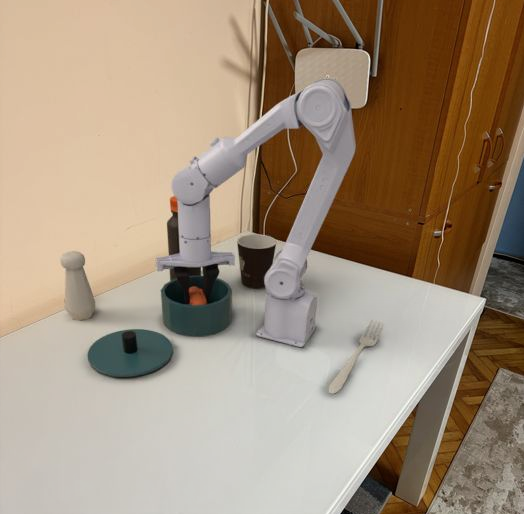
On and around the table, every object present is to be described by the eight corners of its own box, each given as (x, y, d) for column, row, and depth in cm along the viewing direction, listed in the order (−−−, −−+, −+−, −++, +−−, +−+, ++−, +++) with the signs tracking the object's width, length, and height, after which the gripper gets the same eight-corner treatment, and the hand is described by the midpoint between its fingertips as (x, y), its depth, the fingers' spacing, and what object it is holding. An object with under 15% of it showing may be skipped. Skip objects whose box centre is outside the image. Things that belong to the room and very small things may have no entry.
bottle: (185, 278, 117) (181, 191, 106) (207, 287, 114) (206, 198, 103) (164, 288, 112) (157, 198, 102) (186, 297, 109) (182, 205, 98)
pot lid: (188, 348, 92) (188, 328, 90) (135, 390, 81) (132, 368, 79) (127, 326, 98) (125, 306, 95) (70, 362, 87) (65, 341, 85)
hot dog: (208, 316, 97) (208, 303, 95) (192, 318, 96) (192, 304, 94) (200, 296, 104) (200, 283, 102) (185, 297, 103) (185, 284, 101)
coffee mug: (274, 291, 113) (276, 249, 108) (235, 290, 113) (235, 247, 108) (274, 270, 123) (276, 230, 118) (238, 268, 123) (238, 228, 117)
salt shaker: (88, 324, 98) (77, 261, 91) (60, 320, 99) (48, 258, 92) (102, 310, 103) (93, 249, 96) (76, 306, 104) (65, 246, 97)
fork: (321, 390, 83) (322, 381, 82) (369, 326, 101) (370, 318, 100) (340, 397, 82) (341, 388, 81) (384, 331, 100) (386, 323, 99)
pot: (243, 314, 104) (244, 285, 100) (206, 343, 94) (205, 313, 90) (189, 297, 109) (188, 270, 106) (149, 324, 99) (146, 294, 95)
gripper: (229, 224, 97) (228, 288, 104) (151, 228, 93) (157, 294, 100) (237, 237, 91) (236, 304, 98) (156, 242, 88) (161, 311, 95)
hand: (196, 300), depth 99 cm, fingers closed on hot dog, 3 cm apart
